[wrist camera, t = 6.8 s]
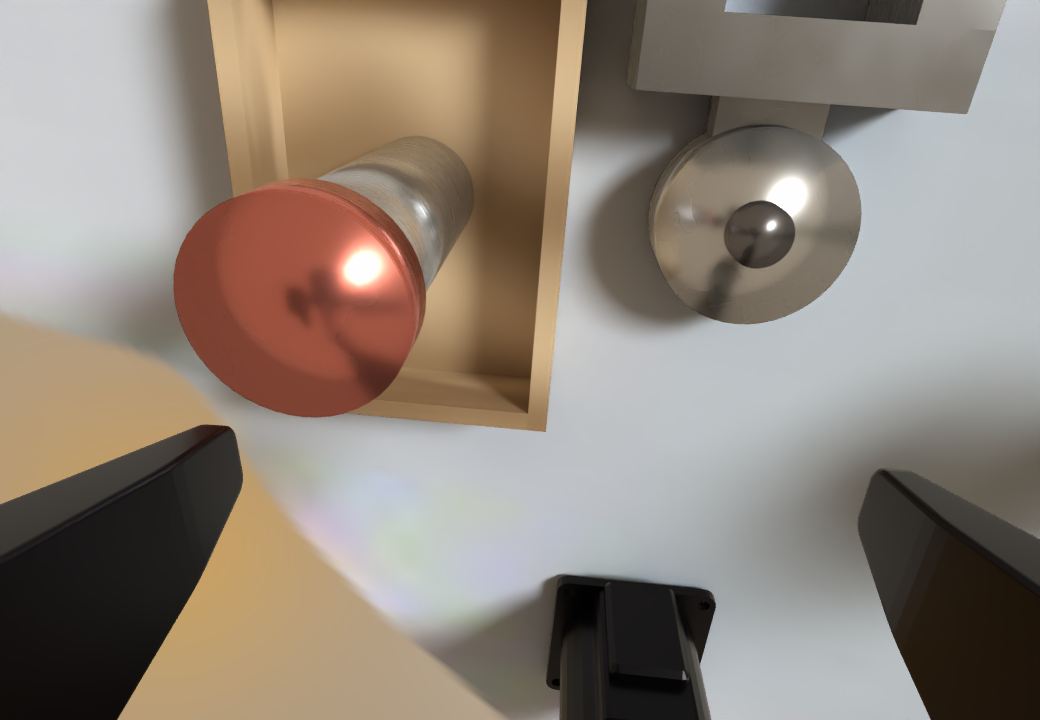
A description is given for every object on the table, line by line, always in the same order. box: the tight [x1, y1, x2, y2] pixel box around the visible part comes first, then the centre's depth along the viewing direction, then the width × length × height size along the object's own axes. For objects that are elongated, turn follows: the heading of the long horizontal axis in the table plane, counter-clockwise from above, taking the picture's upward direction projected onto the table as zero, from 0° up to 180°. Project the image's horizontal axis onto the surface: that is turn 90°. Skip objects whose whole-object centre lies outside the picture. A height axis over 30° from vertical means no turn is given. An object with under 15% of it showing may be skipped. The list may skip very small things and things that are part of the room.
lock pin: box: [174, 136, 474, 417], centre depth 15 cm, size 4×4×10 cm
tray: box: [207, 0, 587, 432], centre depth 19 cm, size 13×9×3 cm
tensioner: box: [626, 0, 1006, 324], centre depth 17 cm, size 14×8×3 cm, turn 176°
